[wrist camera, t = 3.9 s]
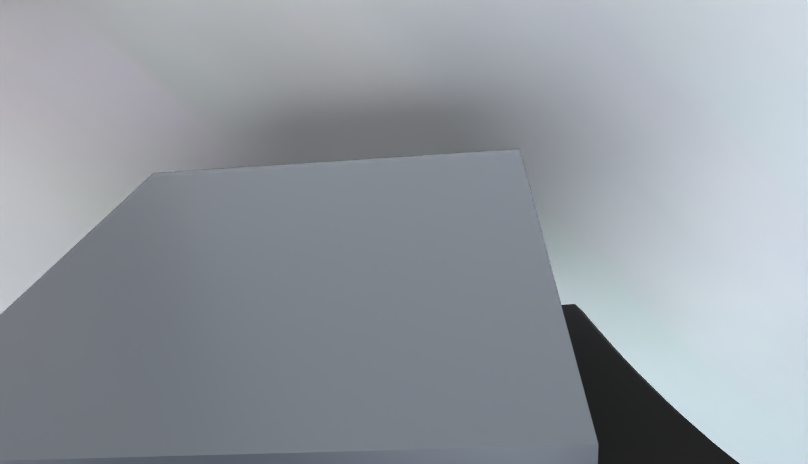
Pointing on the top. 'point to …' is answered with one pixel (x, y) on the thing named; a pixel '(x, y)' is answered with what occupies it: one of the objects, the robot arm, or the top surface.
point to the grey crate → (302, 324)
